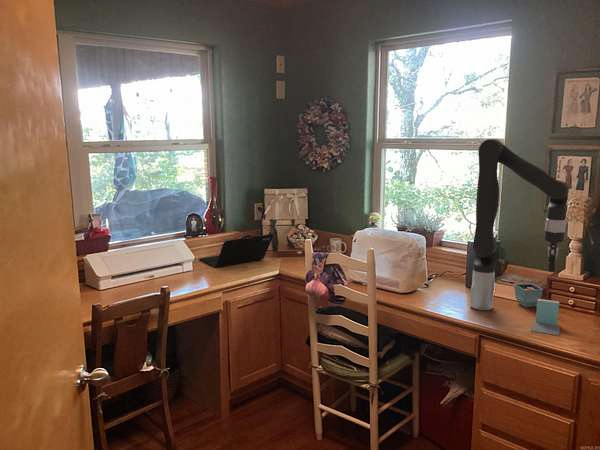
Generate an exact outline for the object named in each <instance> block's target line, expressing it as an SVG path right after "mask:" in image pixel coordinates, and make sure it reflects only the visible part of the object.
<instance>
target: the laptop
mask: <svg viewBox="0 0 600 450" xmlns="http://www.w3.org/2000/svg"><path fill="white" fill-rule="evenodd" d="M274 235H275V234H274V233H270V234H268V233H267V234H262V235H256V236H248V237H243V238H236V239H230V240H225V241H224V242H223V243H222V246H221V250H220V252H219V254H217V255H214V256H207V257H200V258H198V260H199V261H200V262H202V263H204V264H207V265H208V266H210V267H213V268H214V269H218V268H223V267H230V266H233V265H234V266H235V265H240V264H241V265H242V264H245V263H251V262H259V261H263V259H265V257H266V254H267V252H268V250H269V247H270V245H271V243H272V240H273V238H274Z"/></svg>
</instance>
